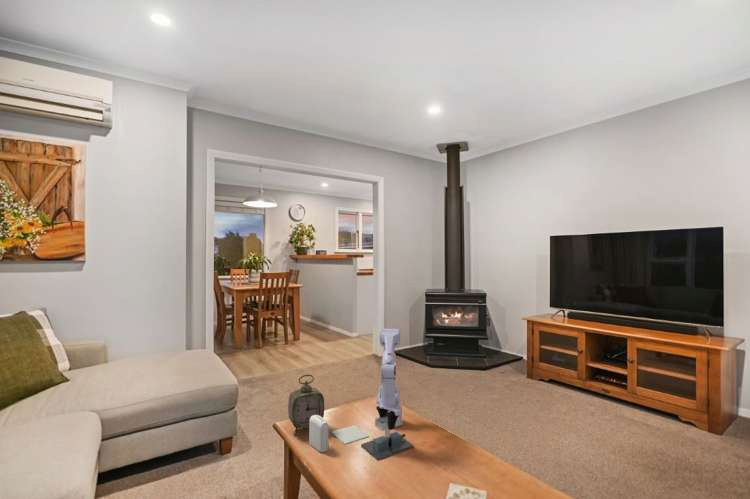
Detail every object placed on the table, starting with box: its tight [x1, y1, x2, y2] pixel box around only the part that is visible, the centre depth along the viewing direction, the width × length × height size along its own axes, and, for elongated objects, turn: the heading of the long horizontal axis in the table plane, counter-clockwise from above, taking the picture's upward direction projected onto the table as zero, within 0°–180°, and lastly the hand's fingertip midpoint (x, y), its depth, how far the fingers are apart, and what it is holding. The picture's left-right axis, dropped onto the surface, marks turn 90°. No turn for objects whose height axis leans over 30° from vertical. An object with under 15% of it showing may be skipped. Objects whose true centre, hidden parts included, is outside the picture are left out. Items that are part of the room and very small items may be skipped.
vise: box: [360, 429, 415, 461], centre depth 155 cm, size 18×12×8 cm, turn 124°
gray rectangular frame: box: [374, 415, 401, 432], centre depth 155 cm, size 9×5×3 cm, turn 123°
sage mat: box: [331, 424, 370, 445], centre depth 165 cm, size 12×12×1 cm
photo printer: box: [308, 415, 329, 453], centre depth 155 cm, size 10×4×12 cm, turn 39°
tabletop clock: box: [287, 373, 325, 436], centre depth 168 cm, size 14×9×25 cm, turn 117°
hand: (387, 426), depth 155 cm, fingers closed on gray rectangular frame, 5 cm apart
